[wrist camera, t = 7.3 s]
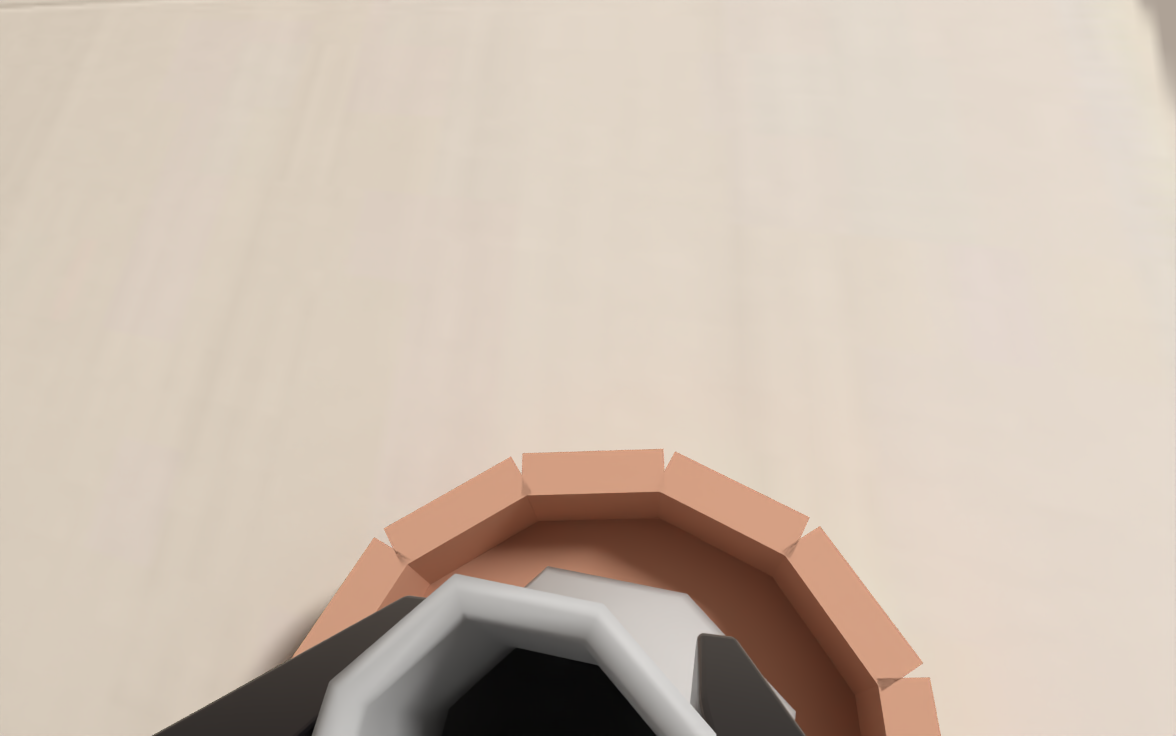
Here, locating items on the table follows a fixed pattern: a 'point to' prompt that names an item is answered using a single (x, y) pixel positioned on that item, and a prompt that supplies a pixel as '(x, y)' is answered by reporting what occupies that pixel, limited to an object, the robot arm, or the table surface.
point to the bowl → (665, 572)
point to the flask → (528, 663)
